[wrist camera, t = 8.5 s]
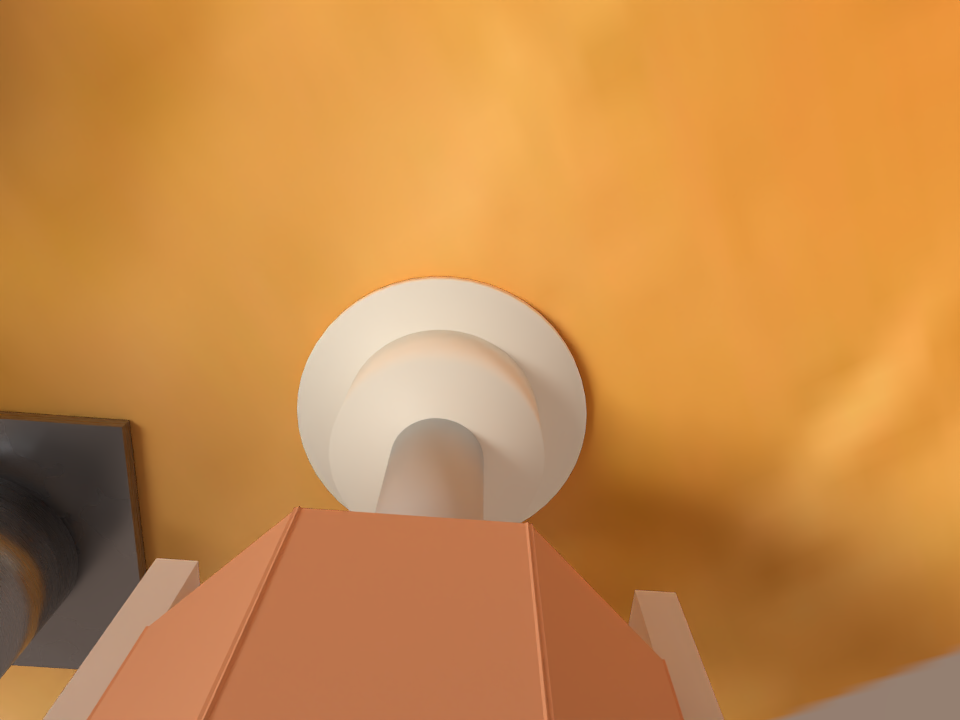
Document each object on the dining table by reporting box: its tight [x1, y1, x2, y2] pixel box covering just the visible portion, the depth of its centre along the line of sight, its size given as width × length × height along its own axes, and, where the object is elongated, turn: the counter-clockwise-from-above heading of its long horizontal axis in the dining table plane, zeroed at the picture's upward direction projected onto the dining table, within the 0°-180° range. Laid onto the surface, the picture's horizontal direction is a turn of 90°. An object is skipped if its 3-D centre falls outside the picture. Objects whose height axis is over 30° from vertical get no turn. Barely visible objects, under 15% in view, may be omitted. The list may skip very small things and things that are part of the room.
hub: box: [297, 276, 587, 523], centre depth 17 cm, size 9×9×10 cm
